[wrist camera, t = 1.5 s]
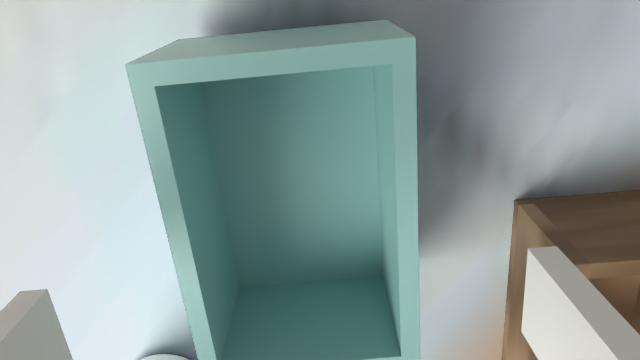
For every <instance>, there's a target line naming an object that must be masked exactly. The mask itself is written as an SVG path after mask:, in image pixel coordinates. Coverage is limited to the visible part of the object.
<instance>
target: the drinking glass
mask: <svg viewBox="0 0 640 360" xmlns="http://www.w3.org/2000/svg"><path fill="white" fill-rule="evenodd" d="M140 360H189V359H187V358H184V357H181V356H178V355H172V354H156V355H151V356H147V357H145V358H142V359H140Z"/></svg>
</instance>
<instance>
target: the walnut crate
mask: <svg viewBox="0 0 640 360" xmlns="http://www.w3.org/2000/svg"><path fill="white" fill-rule="evenodd" d="M552 246H557V247H558V248H559V249H560V250H561V251H562V252H563V253H564V254H565V256H566V257H567V258H568V259H569V260H570V261H571V262H572V263H573V264H574V265H575V266H576V267H577V268H578V269H579V271H580V272H581V273H582V274H583V275H584V276H585V277H586V278H587V279H588V280H589V281H590V282H591V283H592V284H593V286H594V287H595V288H596V289H597V290H598V291H599V292H600V293H601V294H602V295H603V296H604V297H605V298H606V299H607V301H608V302H609V303H610V304H611V305H612V306H613V307H614V308H615V309H616V310H617V311H618V312H619V313H620V314H621V316H622V317H623V318H624V319H625V320H626V321H627V322H628V323H629V324H630V325H631V326H632V327H633V328H634V329H635V331H636V332H637V333H638V334H639V335H640V190H634V191H621V192H609V193H597V194H584V195H572V196H560V197H547V198H535V199H523V200H515V201H514V213H513V225H512V238H511V250H510V262H509V275H508V287H507V299H506V312H505V324H504V336H503V349H502V360H538V359H537V357H536V355H535V354H534V352H533V350H532V349H531V347H530V345H529V344H528V342H527V340H526V339H525V337H524V335H523V334H522V332H521V328H522V316H523V303H524V291H525V278H526V266H527V253H528V249H529V248H540V247H552Z"/></svg>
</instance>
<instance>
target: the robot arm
mask: <svg viewBox="0 0 640 360" xmlns="http://www.w3.org/2000/svg"><path fill="white" fill-rule="evenodd" d="M521 332H522V334H523V335H524V337H525V339H526V340H527V342H528V344H529V345H530V347H531V349H532V350H533V352H534V354H535V355H536V357H537V359H538V360H640V335H639V334H638V333H637V332H636V331H635V329H634V328H633V327H632V326H631V325H630V324H629V323H628V322H627V321H626V320H625V319H624V318H623V317H622V316H621V314H620V313H619V312H618V311H617V310H616V309H615V308H614V307H613V306H612V305H611V304H610V303H609V302H608V301H607V299H606V298H605V297H604V296H603V295H602V294H601V293H600V292H599V291H598V290H597V289H596V288H595V287H594V286H593V284H592V283H591V282H590V281H589V280H588V279H587V278H586V277H585V276H584V275H583V274H582V273H581V272H580V271H579V269H578V268H577V267H576V266H575V265H574V264H573V263H572V262H571V261H570V260H569V259H568V258H567V257H566V256H565V254H564V253H563V252H562V251H561V250H560V249H559V248H558V247H557V246H552V247H540V248H529V249H528V253H527V266H526V278H525V291H524V303H523V316H522V328H521ZM0 360H73V359H72V356H71V353H70V351H69V348H68V345H67V342H66V340H65V337H64V334H63V331H62V329H61V326H60V323H59V320H58V318H57V315H56V312H55V309H54V306H53V304H52V301H51V298H50V295H49V293H48V290H47V289H45V290H33V291H21V292H19V293H18V294H17V295H16V296H15V297H14V298H13V299H12V300H11V301H10V302H9V303H8V304H7V306H6V307H5V308H4V309H3V310H2V311H1V312H0Z"/></svg>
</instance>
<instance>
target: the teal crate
mask: <svg viewBox="0 0 640 360" xmlns="http://www.w3.org/2000/svg"><path fill="white" fill-rule="evenodd" d="M125 67H126V71H127V75H128V79H129V83H130V87H131V91H132V95H133V99H134V104H135V108H136V112H137V116H138V120H139V124H140V128H141V132H142V136H143V140H144V144H145V148H146V152H147V156H148V160H149V164H150V168H151V172H152V176H153V180H154V184H155V188H156V192H157V196H158V201H159V205H160V209H161V213H162V217H163V221H164V225H165V229H166V233H167V237H168V241H169V245H170V249H171V253H172V257H173V261H174V265H175V269H176V273H177V277H178V281H179V285H180V289H181V293H182V298H183V302H184V306H185V310H186V314H187V318H188V322H189V326H190V330H191V334H192V338H193V342H194V346H195V350H196V354H197V358H198V360H420V322H419V245H418V168H417V91H416V37H415V36H414V35H412V34H410V33H409V32H407V31H405V30H403V29H402V28H400V27H398V26H397V25H395V24H393V23H392V22H390V21H388V20H387V19H385V20H375V21H365V22H354V23H344V24H334V25H323V26H313V27H303V28H293V29H282V30H272V31H262V32H251V33H241V34H231V35H220V36H210V37H200V38H189V39H179V40H177V41H175V42H172V43H170V44H168V45H166V46H164V47H162V48H160V49H157V50H155V51H153V52H151V53H149V54H147V55H145V56H142V57H140V58H138V59H136V60H134V61H132V62H130V63H128V64H125Z"/></svg>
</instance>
